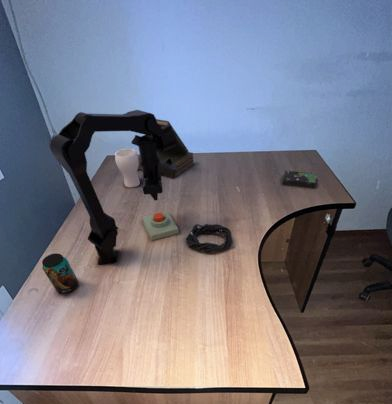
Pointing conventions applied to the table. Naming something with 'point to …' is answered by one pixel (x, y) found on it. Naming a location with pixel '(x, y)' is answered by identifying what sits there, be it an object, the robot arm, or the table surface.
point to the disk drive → (299, 179)
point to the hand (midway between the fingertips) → (155, 200)
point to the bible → (174, 153)
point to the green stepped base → (160, 226)
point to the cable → (209, 230)
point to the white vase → (128, 166)
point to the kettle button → (158, 217)
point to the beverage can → (60, 273)
